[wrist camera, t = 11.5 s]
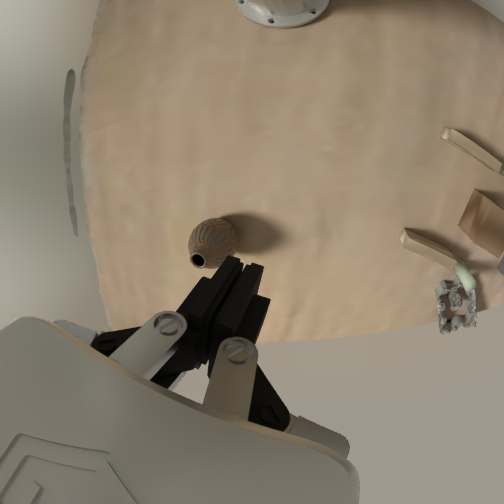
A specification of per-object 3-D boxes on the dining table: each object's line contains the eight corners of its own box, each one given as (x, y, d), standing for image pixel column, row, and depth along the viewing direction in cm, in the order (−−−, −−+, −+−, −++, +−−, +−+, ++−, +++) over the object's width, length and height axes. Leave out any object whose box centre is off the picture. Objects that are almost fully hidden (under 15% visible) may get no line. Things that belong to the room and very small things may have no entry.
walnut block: (474, 188, 27) (493, 202, 22) (498, 206, 27) (518, 221, 22) (457, 224, 31) (473, 242, 25) (482, 239, 30) (499, 258, 25)
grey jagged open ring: (470, 313, 36) (477, 328, 32) (436, 326, 39) (441, 342, 36) (469, 267, 33) (478, 281, 29) (431, 281, 36) (437, 297, 33)
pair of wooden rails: (443, 127, 25) (453, 129, 22) (490, 158, 24) (502, 163, 21) (399, 236, 34) (404, 247, 31) (444, 257, 33) (452, 269, 30)
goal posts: (500, 159, 23) (522, 168, 18) (508, 165, 23) (530, 176, 18) (450, 267, 34) (462, 289, 29) (458, 271, 33) (471, 293, 28)
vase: (252, 235, 41) (232, 265, 34) (225, 260, 45) (202, 290, 38) (220, 203, 40) (193, 226, 33) (195, 230, 44) (167, 256, 36)
